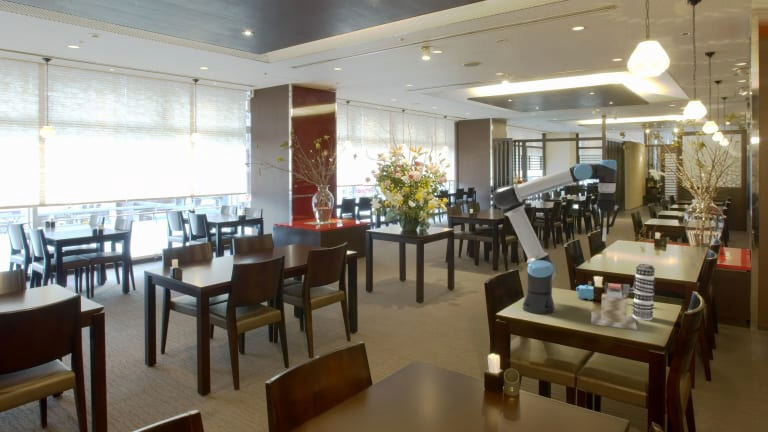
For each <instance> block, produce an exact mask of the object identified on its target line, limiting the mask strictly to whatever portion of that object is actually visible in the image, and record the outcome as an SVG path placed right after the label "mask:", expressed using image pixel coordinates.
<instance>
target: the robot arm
mask: <svg viewBox="0 0 768 432" xmlns="http://www.w3.org/2000/svg"><path fill="white" fill-rule="evenodd" d="M617 164H618V162H617V161H616V160H615V159H600V161H599V163H584V162H583V163H575V164H573V166H571V167H568V168H565V169H562V170H559V171H556V172H553V173H550V174H546V175H543V176H540V177H538V178H537V177H536V178H535V179H532V180H528V181H526V182H522V183H519V184H517V183H513V184H506V185H502V186H499V187H497V188H496V189H495V191H494V192H493V195H492V200H493V203H494V205H495V206H496V207H497V208H499V209H501V212H502V213H503V215H505V216H506V217H508V219H509V221H510V223H511V225H512V227H513V229H514V231H515V233H516V235H517V238H518V239H519V242H520V245H521V247H522V249H523V250H524V252H525V256H526V257H527V261H526V264H527V268H526V269H527V270H526V271H527V276H526V277H527V281H526V282H527V283H526V294H525V297H524V300H523V302H522V310H524V311H525V312H528V313H532V314H537V315H539V314H540V315H541V314H542V315H547V314H553V313H554V312H556V305H555V302H554V299H553V296H552V295H553V294H552V292H553V280H554V279H555V278H556V276H557V274H558V273H557V272H558V270H557V269H558V268H557V265H556V264H555V262H554V261H553V260H552V258H551V256H550V254H549V253H548V252H545V251H544V249H543V247H542V245H541V242H540V241H539V238H538V236H537V234H536V232H535V230H534V228H533V226H532V224H531V222H530V220H529V216H528V215H527V213H526V211H525V206H526V204H525V203H524V200H525V199H528V198H529V199H530V198H531V197H534V196H538V195H541V194H544V193H547V192H551V191H554V190H557V189H560V188H564V187H566V186H569V185H572V184H575V183H580V182H582V181H583V182H584V181H586V180H598V186H597V187H598V193H597V201H596V204H594V205H592V206H591V209H592V210H593V214H594V218H595V223H596V224H595V225H596V226H597V227H598V228H599V230H600V232H599V233H600V235H602V238H601V239H602V240H601V241H602V242H606V241H607V235H610V228H612V227H614V225H615V222H616V220H617V215H618V213H619V211H620V210H621V207H620V206H618V205H617V204H616V193H615V192H616V186H617V185H616V183H617V170H618V169H617V167H618V165H617ZM598 209H599V211H600V212H601V215H600V221H599V216H598V212H597V210H598ZM613 210H614V213H613V216H612V219H610V217H611V214H610V213H611V211H613ZM605 212H606V226H605V227H604V223H605ZM610 221H611V222H610Z"/></svg>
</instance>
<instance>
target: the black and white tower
mask: <svg viewBox="0 0 768 432" xmlns="http://www.w3.org/2000/svg"><path fill="white" fill-rule="evenodd" d="M635 268H636V271H635V275H633V281H634V282H633V286H634V288H635V289H634V293H633V294H634V298H633V302H632V304H633V305H632V307H633V308H632V309H631V310H632V312H631V313H632V315H631V316H634V319H636V320H640V321H641V320H642V321H651V320H653V316H654V315H653V313H654V311H653V309H654V306H655V304H654V295H655V293H656V292H655V290H656V288H655V287H656V282H657V281H656V280H655V277H656V276H655V270H656V268H654V266H653V265H652V264H648V263H647V264H646V263H640V264H638V265H637V266H635Z"/></svg>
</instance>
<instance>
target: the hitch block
mask: <svg viewBox="0 0 768 432" xmlns="http://www.w3.org/2000/svg"><path fill="white" fill-rule="evenodd" d="M608 283H609V282H605V283H604V293H601V303H600V304H601V305H600V307H601V308H600V311H591V314H590V315H591V316H590V318H591V325H595V326H604V327H612V328H620V329H629V330H637V323H636V320H635V319H636V318H634V316H632V315H627V313H628V312H627V309H628V297H627V298H626V296H625V295H623V284H624V283H620V284H621V290H622V299H614V298H607V288H608Z"/></svg>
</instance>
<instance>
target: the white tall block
mask: <svg viewBox="0 0 768 432" xmlns="http://www.w3.org/2000/svg"><path fill="white" fill-rule="evenodd" d="M607 298H614V299H622V290H619V289H614V288H609V287H607Z"/></svg>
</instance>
